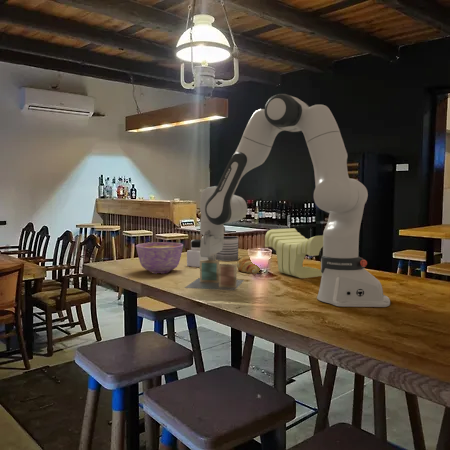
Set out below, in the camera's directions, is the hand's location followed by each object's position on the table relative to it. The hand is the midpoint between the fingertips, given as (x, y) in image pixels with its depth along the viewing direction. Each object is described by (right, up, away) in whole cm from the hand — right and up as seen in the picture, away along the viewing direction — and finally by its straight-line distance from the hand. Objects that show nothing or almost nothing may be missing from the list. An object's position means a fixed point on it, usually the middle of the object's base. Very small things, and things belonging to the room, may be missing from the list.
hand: (212, 265), depth 176 cm
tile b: (+6, -6, -11) cm, 14 cm away
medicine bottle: (-8, -3, +38) cm, 39 cm away
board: (+1, -7, -6) cm, 9 cm away
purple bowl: (-23, -5, +22) cm, 32 cm away
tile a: (-1, -6, -2) cm, 6 cm away
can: (+6, -2, +58) cm, 58 cm away
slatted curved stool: (+36, -5, +17) cm, 40 cm away
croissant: (+15, -5, +25) cm, 29 cm away
